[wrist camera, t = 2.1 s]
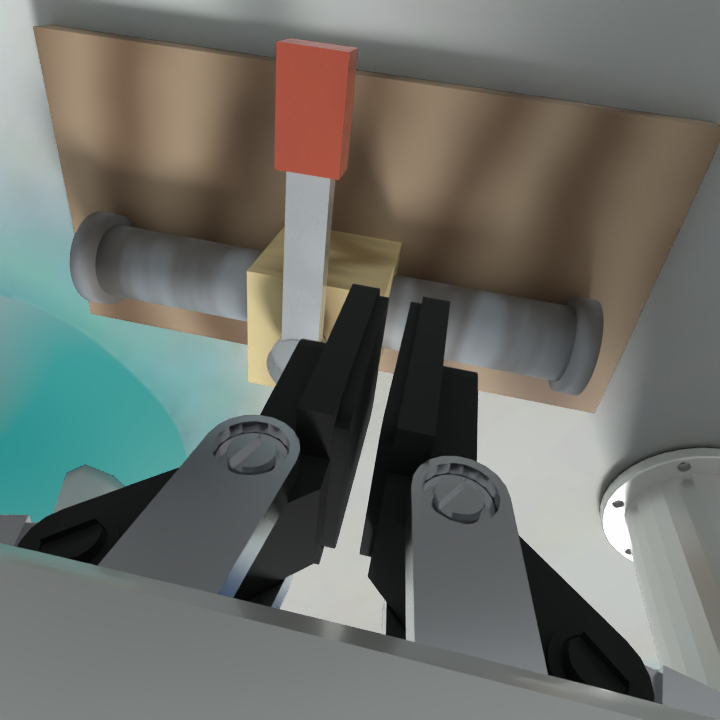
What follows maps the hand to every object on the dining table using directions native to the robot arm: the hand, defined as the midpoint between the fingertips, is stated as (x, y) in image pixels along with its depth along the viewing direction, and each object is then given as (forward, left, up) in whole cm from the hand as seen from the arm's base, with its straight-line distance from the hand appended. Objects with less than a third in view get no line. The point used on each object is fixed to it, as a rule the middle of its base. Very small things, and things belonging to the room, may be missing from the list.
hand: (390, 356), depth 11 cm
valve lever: (+5, +4, -14) cm, 15 cm away
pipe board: (+5, +7, -23) cm, 25 cm away
